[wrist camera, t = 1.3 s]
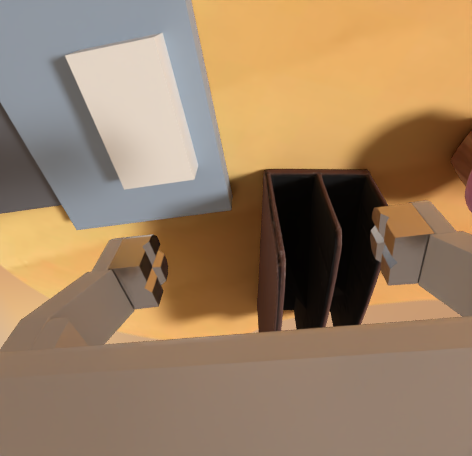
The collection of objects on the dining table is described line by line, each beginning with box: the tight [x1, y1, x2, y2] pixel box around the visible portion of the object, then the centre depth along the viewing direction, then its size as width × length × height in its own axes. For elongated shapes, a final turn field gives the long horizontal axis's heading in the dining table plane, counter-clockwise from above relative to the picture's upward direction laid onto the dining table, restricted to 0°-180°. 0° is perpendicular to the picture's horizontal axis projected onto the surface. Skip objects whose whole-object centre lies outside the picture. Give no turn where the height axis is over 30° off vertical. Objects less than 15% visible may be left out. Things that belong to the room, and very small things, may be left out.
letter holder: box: [257, 169, 388, 332], centre depth 31 cm, size 10×20×14 cm, turn 1°
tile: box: [65, 33, 198, 190], centre depth 24 cm, size 10×6×2 cm, turn 10°
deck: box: [0, 0, 233, 230], centre depth 26 cm, size 20×16×2 cm
